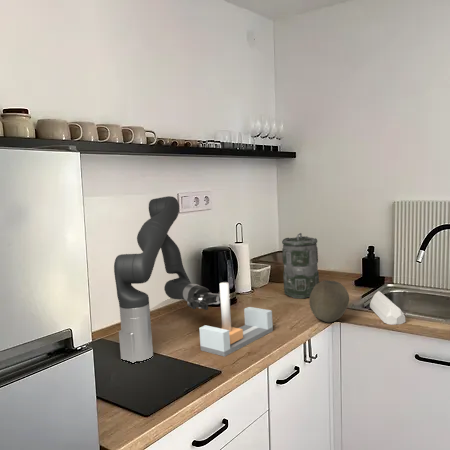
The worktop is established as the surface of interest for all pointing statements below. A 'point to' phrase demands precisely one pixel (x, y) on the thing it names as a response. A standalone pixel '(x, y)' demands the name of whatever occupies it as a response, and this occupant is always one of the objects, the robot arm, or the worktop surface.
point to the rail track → (252, 330)
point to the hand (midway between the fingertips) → (218, 304)
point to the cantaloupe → (329, 300)
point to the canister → (300, 266)
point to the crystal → (386, 309)
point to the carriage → (228, 314)
